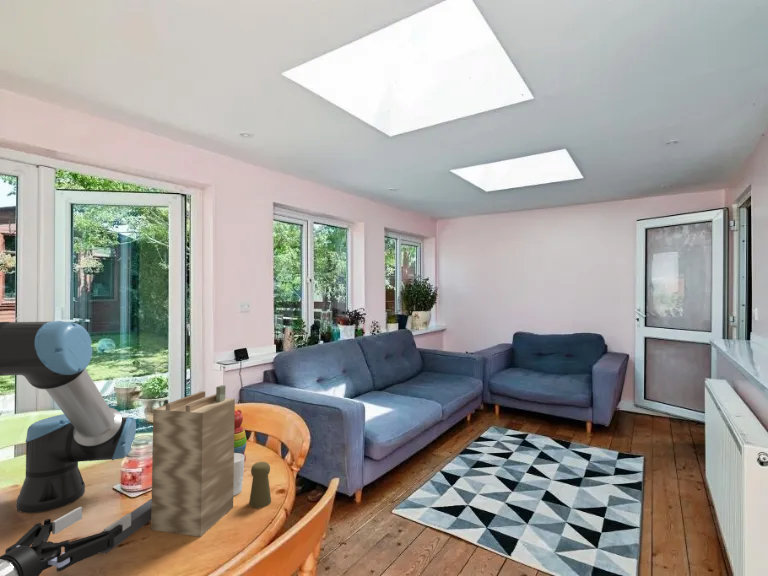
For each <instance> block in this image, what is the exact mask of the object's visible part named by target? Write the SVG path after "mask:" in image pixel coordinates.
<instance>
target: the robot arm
mask: <svg viewBox="0 0 768 576" xmlns="http://www.w3.org/2000/svg"><path fill="white" fill-rule="evenodd" d="M92 357H93V347H92V338H91V336H90V334H89V332H88V330H87V329H86V328H85V327H84V326H82V325H80V324H79V323H76V322H72V321H71V322H69V321H62V320H53V321H12V322H11V321H0V376H23V377H24V378H25V379H26V380H27V382H28V383H29V384H30V385H31V386H32V387H34V388H36V389H39V390H45V391H46V392H47V394H48V395H50V396H49V397H51V399H52V400H53V401H54V402H55V404H56V405H57V406H58V408H59V409H60V410H61V411H62V413H63V414H58V415H53V416H50V417H47V418H43V419H40V420H38V421H35V422H34V423H32V424H30V425H29V427H28V428H27V430H26V438H25V478H24V481H23V483H22V486H21V487H20V491H19V494H18V495H17V498H16V503H15V506H16V508H17V509H16V510H17V512H20V511H21V513H24V512H26V513H27V514H29V513H30V514H32V513H33V514H34V513H43V512H47V511H52V510H56V509H59V508H61V507H64V506H65V507H66V506H67V505H70V504H72V503H74V502H75V501H77V500H79V499H80V498H81V497H83V495H85V491H86V484H85V481H84V480H83V479H84V478H83V476H82V474H81V471H80V469H79V462H96V461H107V460H110V461H115V460H122V459H124V458H126V457H127V456H128V455H129V454H130V452H131V450H132V448H131V444H132V442H133V440H134V441H135V437H136V432H137V422H136V419H135V417H134V416H133V417H132V416H126V417H124V416H122V414H121V413H120V411H119V410H118V409H116V408H113V407H109V405H108V403H107V402H106V400H105V399H104V397H103V396H102V394H101V392H100V390H99V388H98V387H97V386H96V384H95V382H94V381H93V379H92V377H91V376H90V374H89V372H88V371H87V367H88V366H89V364H90V362H91V360H92ZM133 443H134V442H133ZM130 449H131V450H130ZM128 453H129V454H128ZM130 513H131V512H130ZM130 513H127V514H125V515H123V516H121V518H119V519H117V520H115V522H112V523H111V524H110V525H109V526H106V527H105V528H103V531H104V532H102V531H101V532H98V533H95V534H92V535H88V536H85V537H82V538H81V537H80V538H78V539H74V540H72V541H71V540H68V539H66V540H64V541H60V542H53V541H50V540H49V538H50V536H51V534H52V535H57V534H59V533H60V532H62V531H64V530H65V529H67V528H68V527H70V526H72V525H73V524H75V523H77V522H79V521H80V520H82V519H83V506H79V507H77V508H75V509H73V510H71V511H68V513H66V514H63V515H62V516H59V517H58V518H57V519H54V520H51V518H48V519H45V520H44V521H43V524H42V523H41V522H39V523H38V522H37V523H35V524H34V525H33V526H31V528H30V529H28V530H27V532H25V533H24V534H23V536H21V537H20V538H19V539H18V540H17V541H16V542H14V544H12V545H10V546H9V547H8V548H6V549H5V553H4V554H1V555H0V576H40V575H41V573H42V572H43V571H45V570H47V569H49V568H51V567H56V572H58V573H59V572H62V571H64V570H66V569H67V568H69V567H71V566H72V565H74V564H78V563H79V562H82V561H84V560H87V559H88V558H91V557H93V556H95V555H98V554H101V553H100V552H103V551H105V550H107V549H110V548H112V547H114V538H115V537H116V536H117V535H119V534H120V533H122V531H124V530H125V529H127V528H128V527H129V526H131V514H130ZM62 548H64V551H63V552H62ZM114 548H115V547H114Z"/></svg>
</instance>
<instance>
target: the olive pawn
mask: <svg viewBox="0 0 768 576" xmlns="http://www.w3.org/2000/svg"><path fill="white" fill-rule="evenodd" d="M270 472H271V466H270V464H269V463H268V462H266V461H259V462H256V463H254V464H253V465H252V466H251V470H250V474H251V476H252V480H251V482H252V483H251V489H250V497H249V502H248V506H249V507H250V508H252V509H262V508H265V507H268V506H269V505H270V504H271V503H272V497H271V488H270V481H269V475H270Z"/></svg>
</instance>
